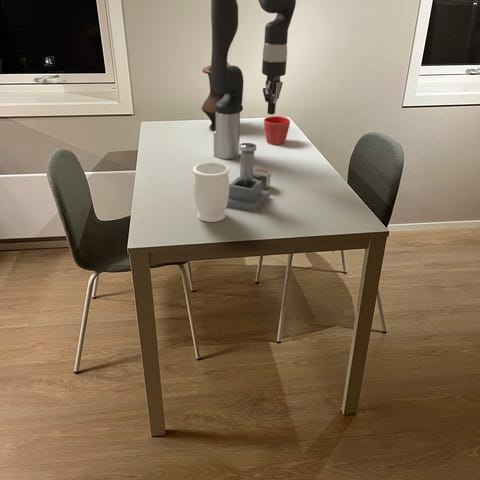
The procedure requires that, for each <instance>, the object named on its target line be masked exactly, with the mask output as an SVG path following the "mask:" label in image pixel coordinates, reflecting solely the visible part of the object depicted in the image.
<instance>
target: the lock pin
mask: <svg viewBox="0 0 480 480" xmlns="http://www.w3.org/2000/svg"><path fill="white" fill-rule="evenodd" d="M254 170H258V171H264V172H269V169H262V168H255V169H254ZM253 180H259V178H258V177H255V178H254V179H253Z"/></svg>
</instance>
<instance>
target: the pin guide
mask: <svg viewBox="0 0 480 480" xmlns="http://www.w3.org/2000/svg"><path fill="white" fill-rule="evenodd" d="M271 173H272V172H269V171H268V172H264V171H258V170H255V169H253V179H254V178H255V177H258V178H259V181H262V190H264V191H269V189H270V188H271Z"/></svg>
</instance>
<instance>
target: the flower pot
mask: <svg viewBox="0 0 480 480" xmlns="http://www.w3.org/2000/svg"><path fill="white" fill-rule="evenodd" d="M290 124H291V119H289V118H288V117H285V116H275V115H274V116H268V117H265V118H264V119H263V126H264V132H265V140H266V143H268V144H267V145H272V146H282V145H284V144H285V143H286V141H287V137H288V133H289V128H290Z"/></svg>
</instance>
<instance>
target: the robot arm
mask: <svg viewBox="0 0 480 480" xmlns="http://www.w3.org/2000/svg"><path fill="white" fill-rule="evenodd" d="M258 2H259V5H260V7H261V9H262V10H263V11H264V12H266V13H268V14H276V16H275V18H274V20H271V21H269V22H267V23H266V25H265V27H264V38H263V39H264V40H263V41H264V43H263V50H262V64H261V65H262V67H261V73H262V74H263V75H264V76H266V80H265V85H264V86H265V87H262V93H263V97H264V100H265V102H266V103H267V115H271V116H272V115H275V114H276V106H277V104H276V103H277V101H278V100H279V98H280V94H281V91H282V88H283V84H284V83H283V81H281V77H284V76H285V75H286V73H287V61H288V58H287V57H288V38H289V37H288V35H289V28H290V24H291V22H292V19H293V16H294V12H295V9H296V4H297V0H258ZM210 6H211V7H210V15H211V16H210V18H211V20H210V22H211V60H210V66H211V74H210V79H211V86H212V89H213V91H214V92H215V93H216V94H224V96H223V98H222V99H221V100H220V101H219V102H217V103H216V106H215V111H216V131H213V156H214V157H217V158H219V159H223V160H232V159H238V158H239V157H240V137H241V136H240V134H241V131H240V129H241V127H240V126H241V124H240V123H241V112H240V107H241V104H242V105H243V96H244V95H243V94H244V75H243V71H242V70H241V68H240V67H239V66H236V65H232V66H227V63H228V56H229V50H230V47H231V45H232V43H233V42H234V39H235V36H236V34H237V32H238V31H237V30H238V28H239V5H238V0H211V1H210Z"/></svg>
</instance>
